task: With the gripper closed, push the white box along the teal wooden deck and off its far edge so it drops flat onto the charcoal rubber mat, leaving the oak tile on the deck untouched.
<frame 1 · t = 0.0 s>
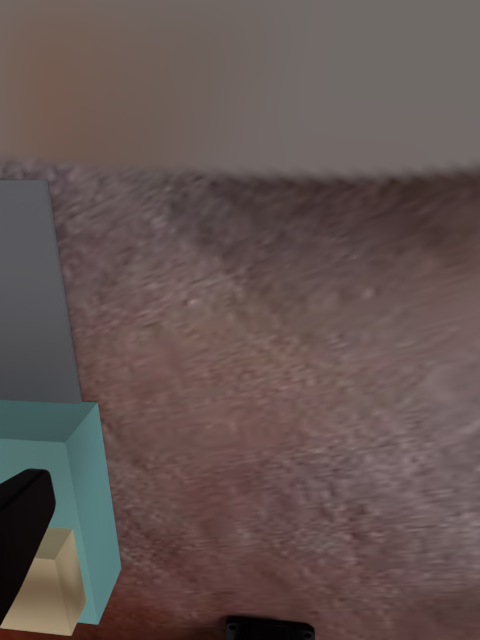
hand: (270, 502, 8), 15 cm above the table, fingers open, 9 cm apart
oak tile: (32, 562, 25), point 4 cm above the table, touching deck
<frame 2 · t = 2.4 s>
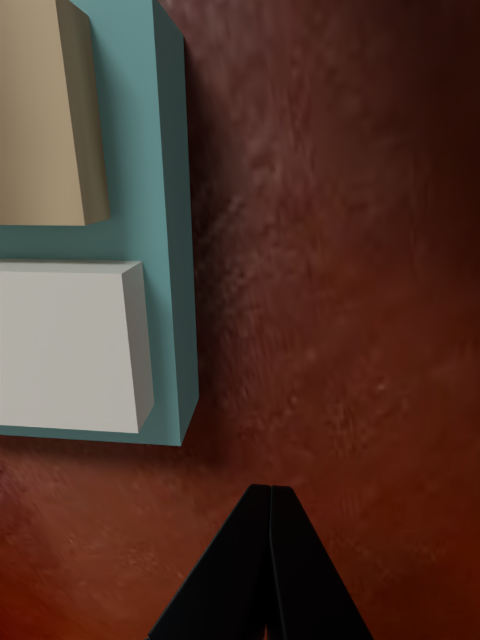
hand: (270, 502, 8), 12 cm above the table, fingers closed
deck: (45, 241, 19), on the table
white box: (39, 333, 16), point 4 cm above the table, touching deck
oak tile: (14, 126, 14), point 4 cm above the table, touching deck
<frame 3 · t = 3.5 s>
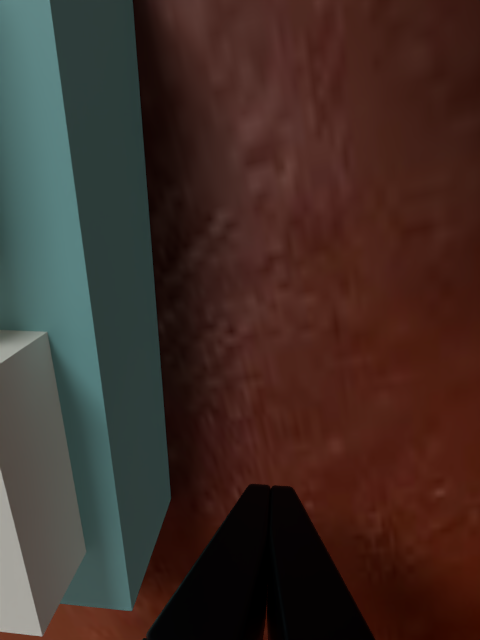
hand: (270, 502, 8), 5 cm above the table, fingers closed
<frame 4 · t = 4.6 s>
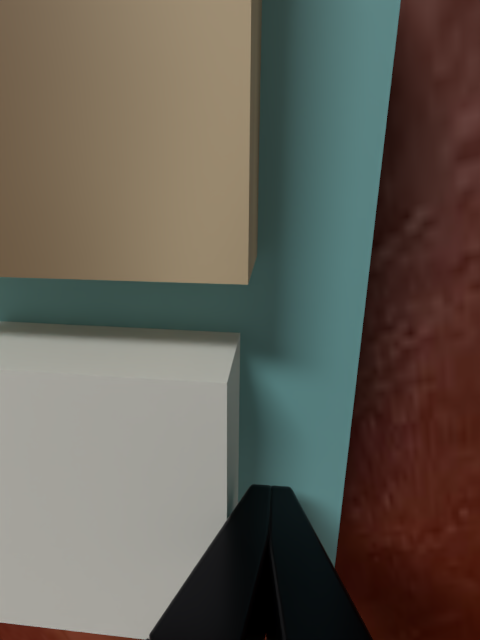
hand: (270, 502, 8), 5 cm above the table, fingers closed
deck: (95, 275, 12), on the table
white box: (43, 444, 9), point 4 cm above the table, touching gripper
oak tile: (75, 67, 7), point 4 cm above the table, touching deck
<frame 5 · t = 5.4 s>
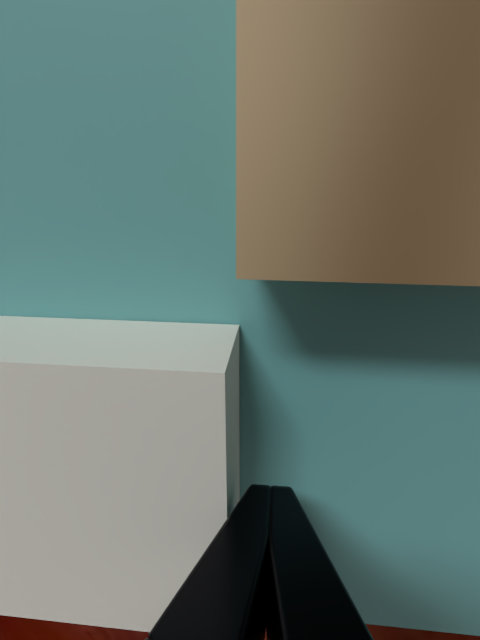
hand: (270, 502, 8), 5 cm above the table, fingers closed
deck: (294, 278, 12), on the table
white box: (45, 438, 9), point 4 cm above the table, touching gripper
oak tile: (450, 55, 6), point 4 cm above the table, touching deck
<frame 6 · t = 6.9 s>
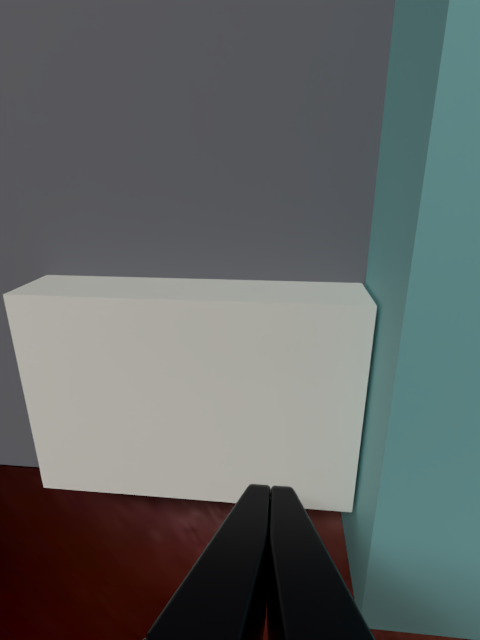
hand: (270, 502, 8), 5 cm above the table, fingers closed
white box: (201, 373, 13), resting on mat
mat: (136, 276, 12), on the table
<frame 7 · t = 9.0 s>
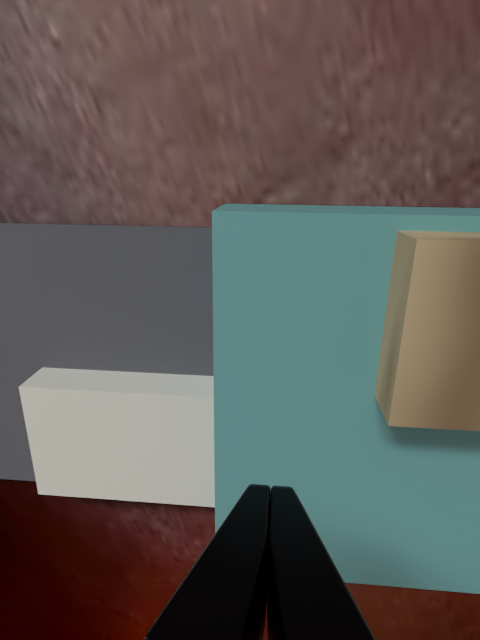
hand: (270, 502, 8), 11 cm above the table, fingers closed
deck: (372, 381, 19), on the table
white box: (135, 424, 21), resting on mat
mat: (95, 368, 20), on the table
oak tile: (474, 321, 14), point 4 cm above the table, touching deck
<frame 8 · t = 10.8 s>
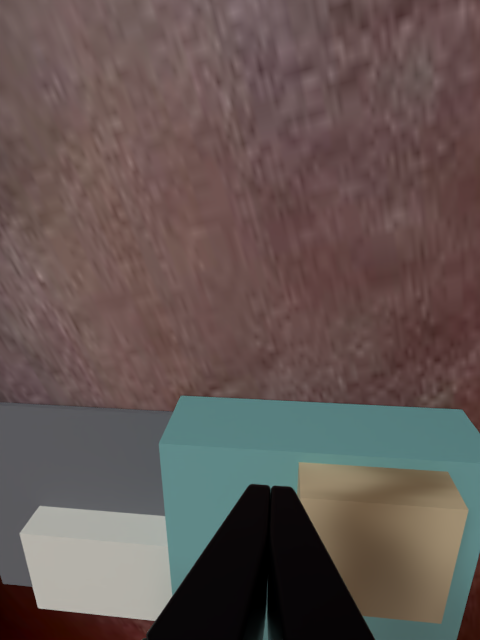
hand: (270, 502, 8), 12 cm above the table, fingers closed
deck: (308, 523, 23), on the table
white box: (116, 549, 25), resting on mat
mat: (83, 506, 25), on the table
oak tile: (364, 522, 18), point 4 cm above the table, touching deck
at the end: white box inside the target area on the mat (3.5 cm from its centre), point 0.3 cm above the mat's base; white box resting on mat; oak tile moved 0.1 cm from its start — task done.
